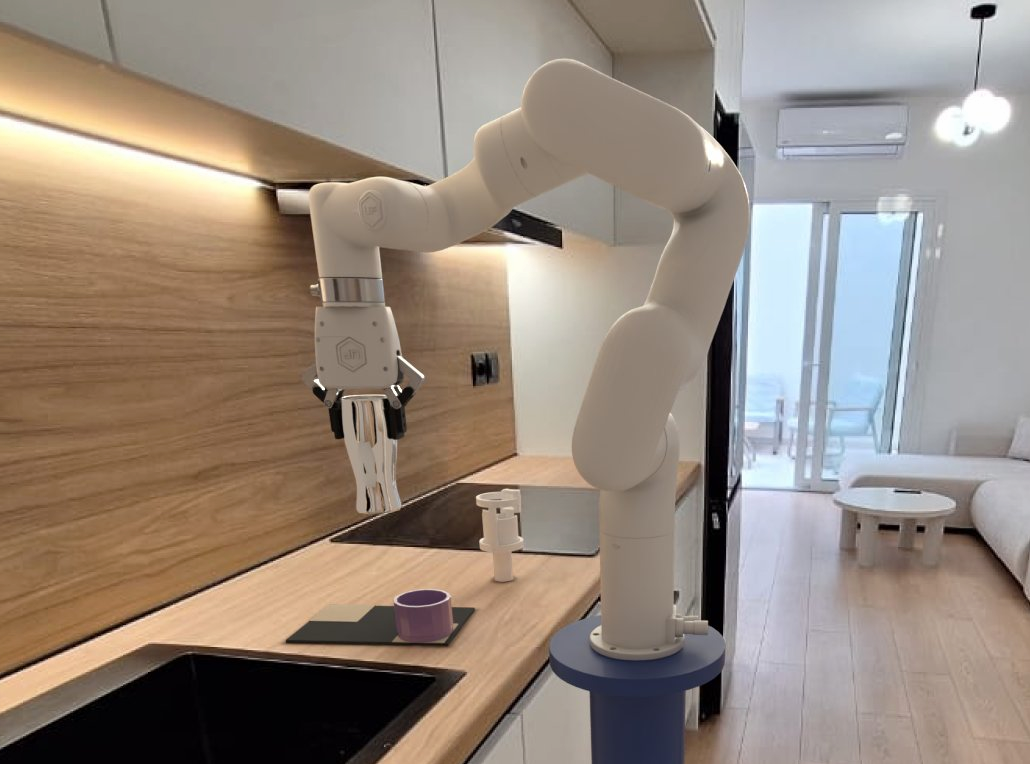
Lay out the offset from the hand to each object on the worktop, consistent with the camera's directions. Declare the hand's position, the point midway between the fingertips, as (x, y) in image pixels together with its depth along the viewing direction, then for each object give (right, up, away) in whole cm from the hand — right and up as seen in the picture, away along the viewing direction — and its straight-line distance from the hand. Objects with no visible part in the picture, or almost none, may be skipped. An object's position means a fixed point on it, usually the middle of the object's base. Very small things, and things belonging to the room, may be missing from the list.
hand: (370, 437), depth 108 cm
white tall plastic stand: (+13, -18, +26) cm, 34 cm away
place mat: (0, -25, +6) cm, 26 cm away
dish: (+7, -26, +2) cm, 27 cm away
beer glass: (0, -9, +4) cm, 10 cm away
